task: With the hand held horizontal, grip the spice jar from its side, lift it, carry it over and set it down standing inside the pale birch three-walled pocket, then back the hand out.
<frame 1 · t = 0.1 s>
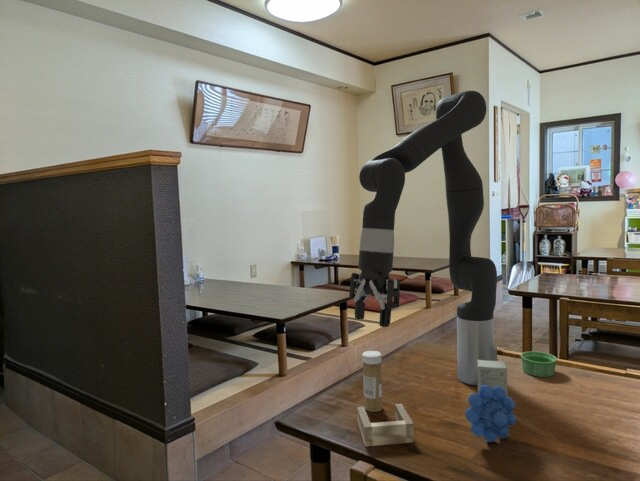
hand: (371, 322, 99), 22 cm above the table, tool pointing down, fingers open, 8 cm apart
blue bumpy cluster: (494, 444, 89), on the table
skincare box: (492, 416, 100), on the table
ramekin: (538, 372, 124), on the table
pocket: (384, 433, 94), on the table
spice jar: (373, 409, 106), on the table
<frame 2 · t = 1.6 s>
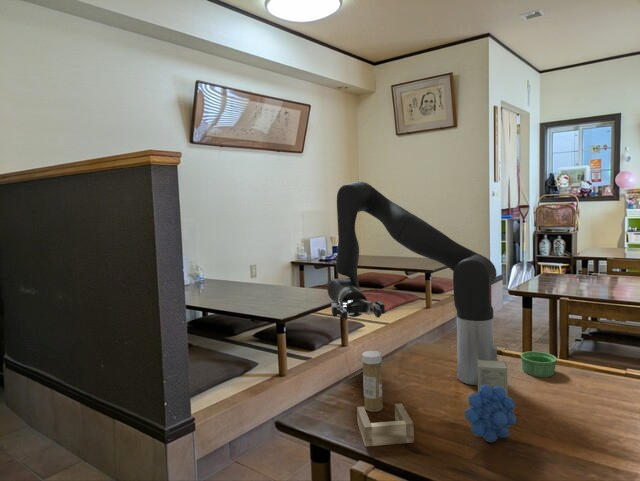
hand: (362, 314, 115), 20 cm above the table, tool horizontal, fingers open, 8 cm apart
nothing on the table moved.
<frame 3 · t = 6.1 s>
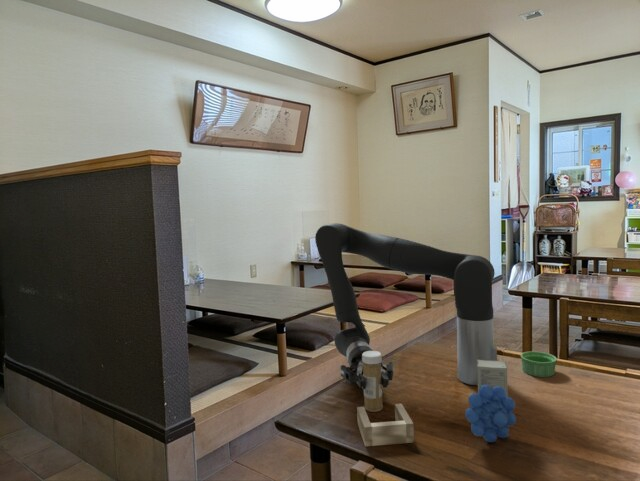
hand: (374, 384, 102), 7 cm above the table, tool horizontal, fingers closed on spice jar, 4 cm apart
spice jar: (373, 409, 106), on the table, touching gripper
everything else where it was.
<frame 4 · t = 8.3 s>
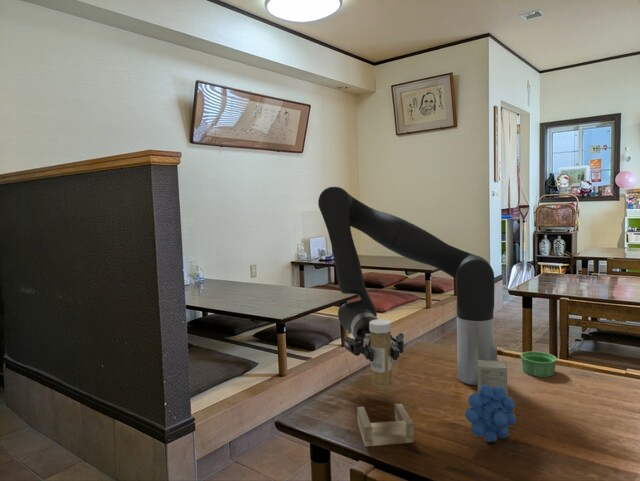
hand: (383, 356, 90), 18 cm above the table, tool horizontal, fingers closed on spice jar, 4 cm apart
spice jar: (381, 384, 94), point 10 cm above the table, touching gripper
everything else where it was.
when the fingers open (8 cm above the table, at t = 10.4 s): spice jar drops 1 cm, resting in pocket.
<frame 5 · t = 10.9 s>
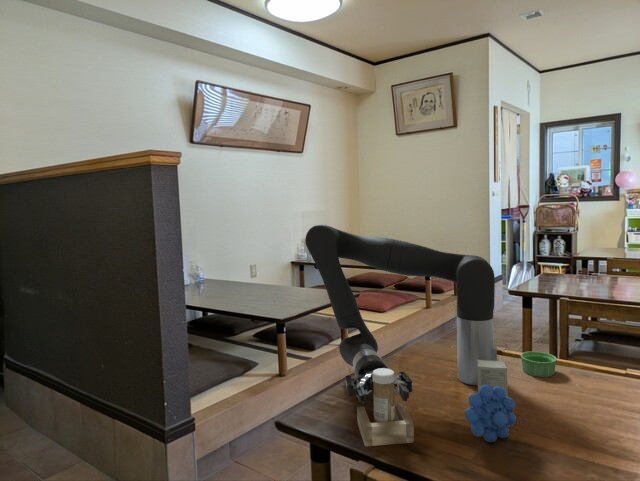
hand: (385, 398, 92), 8 cm above the table, tool horizontal, fingers open, 8 cm apart
spice jar: (384, 433, 94), resting in pocket
everything else where it was.
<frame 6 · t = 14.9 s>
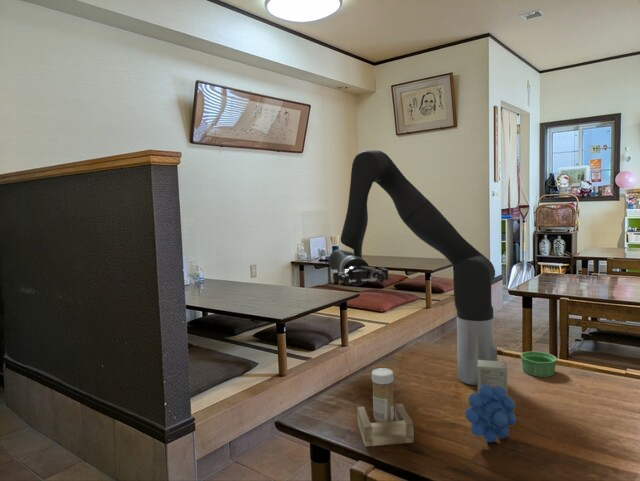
hand: (364, 279, 109), 30 cm above the table, tool horizontal, fingers open, 8 cm apart
nothing on the table moved.
at the end: spice jar inside the target area on the pocket (0.7 cm from its centre), point 0.0 cm above the pocket's base; spice jar tilted 0°; the gripper is holding nothing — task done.
